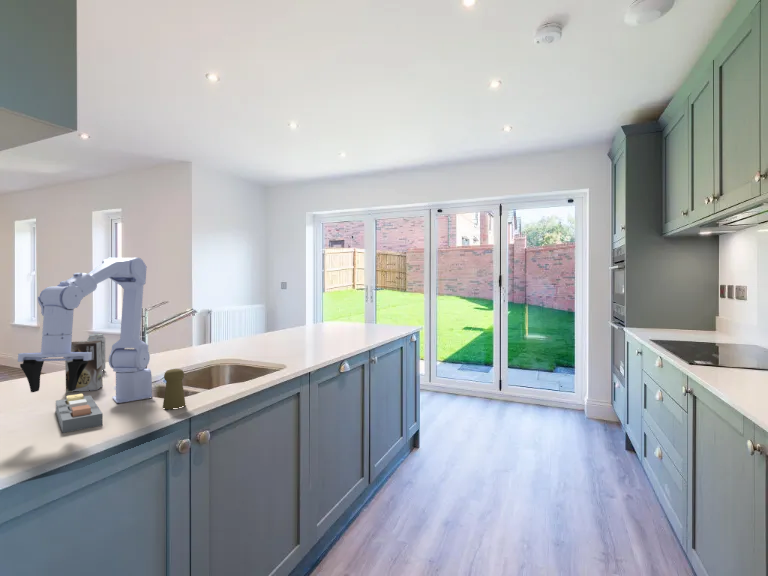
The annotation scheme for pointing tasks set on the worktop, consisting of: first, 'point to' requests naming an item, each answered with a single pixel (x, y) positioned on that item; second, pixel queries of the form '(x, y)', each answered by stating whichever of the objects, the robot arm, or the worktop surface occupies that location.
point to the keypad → (80, 421)
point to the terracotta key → (80, 410)
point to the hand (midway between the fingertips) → (53, 391)
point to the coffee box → (88, 366)
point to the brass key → (74, 397)
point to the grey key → (77, 403)
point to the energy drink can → (101, 337)
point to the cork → (174, 389)
